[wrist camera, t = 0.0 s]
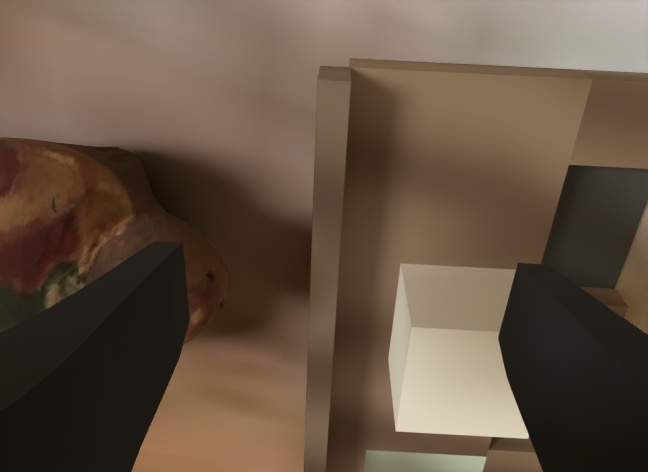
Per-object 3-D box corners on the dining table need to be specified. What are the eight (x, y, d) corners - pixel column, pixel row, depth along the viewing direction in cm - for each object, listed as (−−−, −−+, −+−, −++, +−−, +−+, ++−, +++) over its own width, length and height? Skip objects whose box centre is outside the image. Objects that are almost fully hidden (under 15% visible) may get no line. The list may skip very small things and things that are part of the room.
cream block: (501, 365, 24) (528, 438, 20) (388, 358, 24) (395, 431, 20) (526, 270, 21) (561, 335, 18) (400, 263, 21) (411, 327, 18)
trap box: (532, 503, 31) (553, 565, 28) (305, 490, 31) (301, 551, 28) (689, 75, 19) (755, 101, 16) (322, 57, 19) (317, 79, 16)
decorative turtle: (284, 282, 24) (247, 435, 17) (-11, 310, 27) (-144, 452, 20) (223, 64, 19) (136, 160, 12) (-134, 125, 22) (-368, 232, 15)
